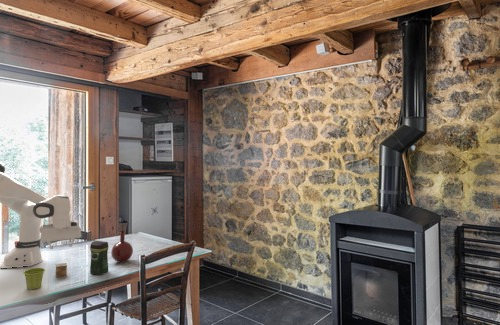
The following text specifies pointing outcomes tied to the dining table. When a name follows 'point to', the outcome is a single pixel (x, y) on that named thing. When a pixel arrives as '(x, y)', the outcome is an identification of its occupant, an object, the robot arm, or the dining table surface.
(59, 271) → the walnut box
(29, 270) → the plant pot
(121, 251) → the round-bottom flask
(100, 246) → the coffee jar
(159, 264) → the dining table surface
